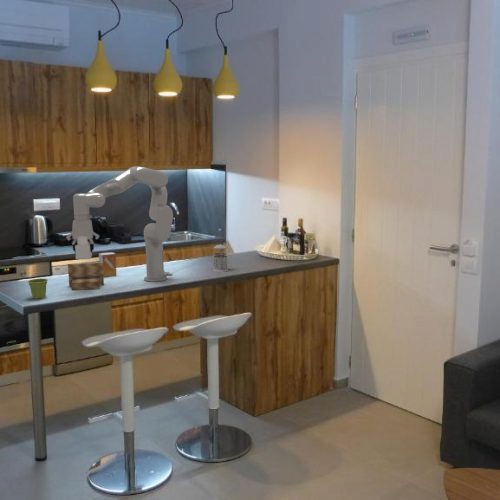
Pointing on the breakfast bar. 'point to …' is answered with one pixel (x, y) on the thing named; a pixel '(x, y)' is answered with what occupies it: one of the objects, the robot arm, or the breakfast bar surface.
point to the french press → (220, 259)
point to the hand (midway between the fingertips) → (83, 251)
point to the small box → (108, 263)
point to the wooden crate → (85, 276)
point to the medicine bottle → (83, 248)
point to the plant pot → (38, 288)
